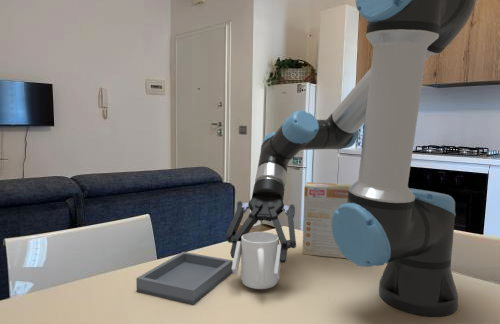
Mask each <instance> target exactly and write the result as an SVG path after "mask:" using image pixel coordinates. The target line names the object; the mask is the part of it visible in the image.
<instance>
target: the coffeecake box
mask: <svg viewBox="0 0 500 324" xmlns="http://www.w3.org/2000/svg"><path fill="white" fill-rule="evenodd" d="M351 185H353V184H351V183H349V184H348V183H330V182H329V183H327V182H326V183H325V182H306V184H305V185H304V190H303V192H304V194H303V195H304V196H303V225H302V227H303V228H302V229H303V230H302V255H307V256H309V255H311V256H320V257H329V258H330V257H331V258H339V259H347V258H346V257H345V256H344V255H343V254H342V252H341V251H340V249H339V247H338V245H337V244H336V242H335V240H334V237H333V233H332V218H333V214H334V212H335V211H336V210H337V209H338V208H339V207H340V206H341V205H342V204H346V203H347V199H348V190H349V187H350V186H351Z"/></svg>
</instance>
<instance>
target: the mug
mask: <svg viewBox="0 0 500 324" xmlns="http://www.w3.org/2000/svg"><path fill="white" fill-rule="evenodd" d="M278 245H280V240H279V236H278V235H277V233H273V232H269V231H268V232H267V231H251V232H250V231H249V232H248V233H246V234H244V235H242V237H241V258H240V262H241V263H240V265H241V266H240V270H241V271H240V274H241V276H240V277H241V282H242V284H243V285H244V286H246V287H248V288H250V289H254V290H266V289H271V288H273V287H275V286H276V285H277V284H278V282H279V279H275V276H274V269H275V261H276V254H277V246H278Z"/></svg>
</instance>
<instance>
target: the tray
mask: <svg viewBox="0 0 500 324" xmlns="http://www.w3.org/2000/svg"><path fill="white" fill-rule="evenodd" d="M232 264H233V260H231V259H227V258H221V257H216V256H210V255H203V254H199V253H193V252H187V251H182V252H180V253H178V254H177V255H174V256H173V257H171V258H170V259H167V260H166V261H164V262H163V263H161V264H159V265H157V266H155V267H153V268H151V269H150V270H148V271H146V272H145V273H142V274H141V275H139V276H138V277H136V278H135V279H136V281H135V282H136V283H135V284H136V292H137V293H141V294H146V295H149V296H153V297H157V298H161V299H167V300H170V301H174V302H179V303H183V304H188V305H192V306H195V304H196V303H198V302H199V301H200V300H201V299H202V298H203V297H205V296H206V295H207V294H209V292H211V291H212V290H213V289H214V288H215V287H217V286H218V285H219V284H220V283H222V282H223V281H224V280H225V279H226V278H227V277H229V276H230V275H231V274H233V271H232Z"/></svg>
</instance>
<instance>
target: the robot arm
mask: <svg viewBox="0 0 500 324" xmlns="http://www.w3.org/2000/svg"><path fill="white" fill-rule="evenodd" d="M476 1H477V0H355V7H356V10H357V11H359V15H360V16H361V17H362V18H363V19H364V20H365V21H367V22H366V23H367V24H366V33H365V38H366V39H367V41H368V42H369V43H370V44H371V46H372V47H373V51H372V59H371V67H370V68H369V70H368V71H366V73H364V76H362V78H361V79H360V80H359V81H358V82H357V84H355V86H354V87H353V88H352V89H351V90H350V91H349V93H348V94H347V95H346V96H345V98H344V99H343V100H342V101H341V102H340V104H338V106H337V107H336V108H335V109H334V110H333V112H332V113H331V114H330V115H329V116H328V117H327V118H326V119H317V118H316V117H315V116H314V114H312V113H311V112H307V111H306V110H303V109H300V110H296V111H294V112H293V113H291V115H289V117H287V118H286V119H285V120H284V122H283V123H282V125H281V126H280V127H279V128H278V129H277V131H273V132H271V133H267V134H266V135H265V136H264V138H263V140H262V143H261V146H260V153H259V157H258V158H259V159H258V164H257V170H256V173H255V179H254V185H253V190H252V194H251V198H250V200H249V201H248V202H243V201H241V200H239V201H238V202H236V211H235V213H234V215H233V218H232V220H231V222H230V225H229V226H228V229H227V231H226V234H225V237H226V240H227V242H228V243H231V249H230V252H229V253H230V257H231V259H233V264H232V274H233V275H234V276H235V275H238V272H239V269H240V264H241V263H240V262H241V237H242V235H244V234H246V233H250V230H252V228H253V227H254V226H255V225H256V224H257V223H258V222H259V221H261V222H262V221H267V222H272V223H273V226H274V229H275V232H276V235H278V236H279V245H278V246H277V254H276V261H275V269H274V276H275V279H278V280H279V279H280V272H281V265H282V264H285V263H286V262H287V256H288V255H287V254H288V249H290V248H291V249H296V247H297V241H296V233H295V232H296V231H295V222H294V217H295V214H296V208H295V206H296V205H294V204H289V205H285V204H284V196H285V187H286V182H287V175H288V174H287V173H288V172H287V171H288V166H289V163H290V161H291V160H292V159H293V158H295V156H297V155H298V154H299V153H300V152H301V151H308V150H311V151H312V150H343V149H348V148H351V147H353V146H354V145H355V144H356V141H357V138H358V134H359V133H358V130H359V129H360V128H361V127H362V126H363V125H364V126H363V127H364V128H363V136H362V144H361V150H360V151H361V152H360V160H359V162H360V163H359V168H358V169H359V170H358V178H357V180H356V181H355V182H354V183H353V184H352V185H351V186H350V187H349V190H348V199H347V203H346V204H342V205H341V206H340V207H339V208H338V209H337V210H336V211H335V212H334V214H333V218H332V233H333V237H334V240H335V242H336V244H337V245H338V247H339V249H340V251H341V252H342V254H343V255H344V256H345V257H346V258H345V259H346V260H348V261H349V262H351V263H352V264H354V265H356V266H360V267H361V268H362V267H363V268H369V267H374V266H376V267H380V266H384V265H385V264H386V265H385V268H384V270H383V273H382V275H381V277H380V279H379V283H378V284H379V285H378V294H379V297H381V299H382V300H383V301H384V302H385V303H386V304H388V305H390V306H392V307H393V308H395V309H396V308H397V309H398V310H401V311H403V312H406V313H410V314H413V315H414V314H415V315H419V316H427V317H444V316H449V315H453V314H454V313H455V312H456V311H457V310H458V307H459V305H458V304H459V294H458V290H457V288H456V287H457V286H456V283H455V280H454V277H453V274H452V267H451V266H452V252H453V244H454V233H455V232H454V231H455V222H456V217H457V216H456V215H457V213H456V201H455V199H454V198H453V197H452V196H451V195H450V194H446V193H441V192H436V191H430V190H424V189H418V188H417V189H416V188H410V187H409V178H410V172H411V165H412V159H413V151H414V144H415V136H416V130H417V129H416V127H417V121H418V115H419V110H420V109H419V108H420V101H421V94H422V87H423V79H424V74H425V67H426V61H427V60H428V59H429V58H430V57H431V56H435V55H440V54H441V53H442V52H443V51H445V49H446V48H447V47H448V46H449V45H450V44H451V43H452V42H453V41H454V40H455V38H456V37H457V36H458V35H459V34H460V33H461V31H462V30H463V28H464V26H465V25H466V24H467V23H468V21H469V19H470V18H471V16H472V13H473V10H474V9H475V6H476ZM248 209H249V210H250V213H249V214H248V217H247V218H246V219H245V221H244V222H243V223H242V220H243V217H244V215H245V214H246V212H247V210H248ZM282 212H284V213H285V215H286V216H287V221H288V222H287V224H288V232H289V233H288V234H289V235H288V236H289V239H288V240H287V238H286V236H285V234H284V230H283V227H282V225H281V222H280V219H279V217H278V216H279V215H281V214H282ZM241 223H242V225H241ZM240 225H241V226H240Z"/></svg>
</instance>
